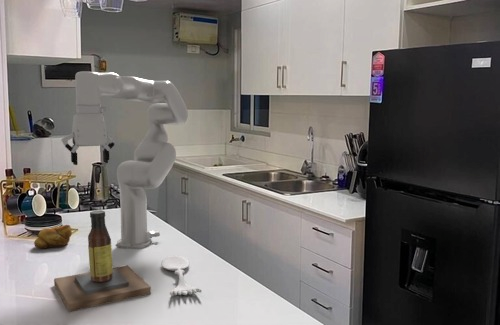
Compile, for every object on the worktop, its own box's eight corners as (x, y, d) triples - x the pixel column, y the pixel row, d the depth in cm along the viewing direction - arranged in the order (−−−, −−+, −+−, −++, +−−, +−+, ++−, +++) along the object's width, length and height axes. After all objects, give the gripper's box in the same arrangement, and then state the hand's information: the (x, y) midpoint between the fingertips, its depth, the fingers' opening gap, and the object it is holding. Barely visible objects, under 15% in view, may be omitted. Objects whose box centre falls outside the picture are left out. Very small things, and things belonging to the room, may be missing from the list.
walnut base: (127, 271, 149) (127, 262, 149) (150, 293, 133) (150, 283, 132) (54, 285, 137) (53, 275, 137) (69, 311, 121) (68, 300, 120)
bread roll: (36, 252, 166) (35, 230, 165) (31, 245, 174) (29, 224, 173) (74, 246, 174) (73, 225, 173) (67, 239, 181) (66, 219, 180)
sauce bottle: (117, 276, 137) (115, 210, 134) (104, 284, 131) (102, 215, 128) (98, 273, 139) (96, 208, 136) (84, 281, 133) (82, 213, 130)
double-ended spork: (169, 304, 127) (169, 292, 126) (160, 263, 157) (160, 253, 157) (202, 300, 129) (202, 288, 128) (187, 261, 160) (187, 251, 159)
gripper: (112, 110, 158) (113, 160, 160) (58, 110, 149) (60, 163, 151) (119, 111, 152) (120, 163, 154) (62, 111, 142) (65, 167, 145)
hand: (90, 163), depth 153 cm, fingers open, 9 cm apart
